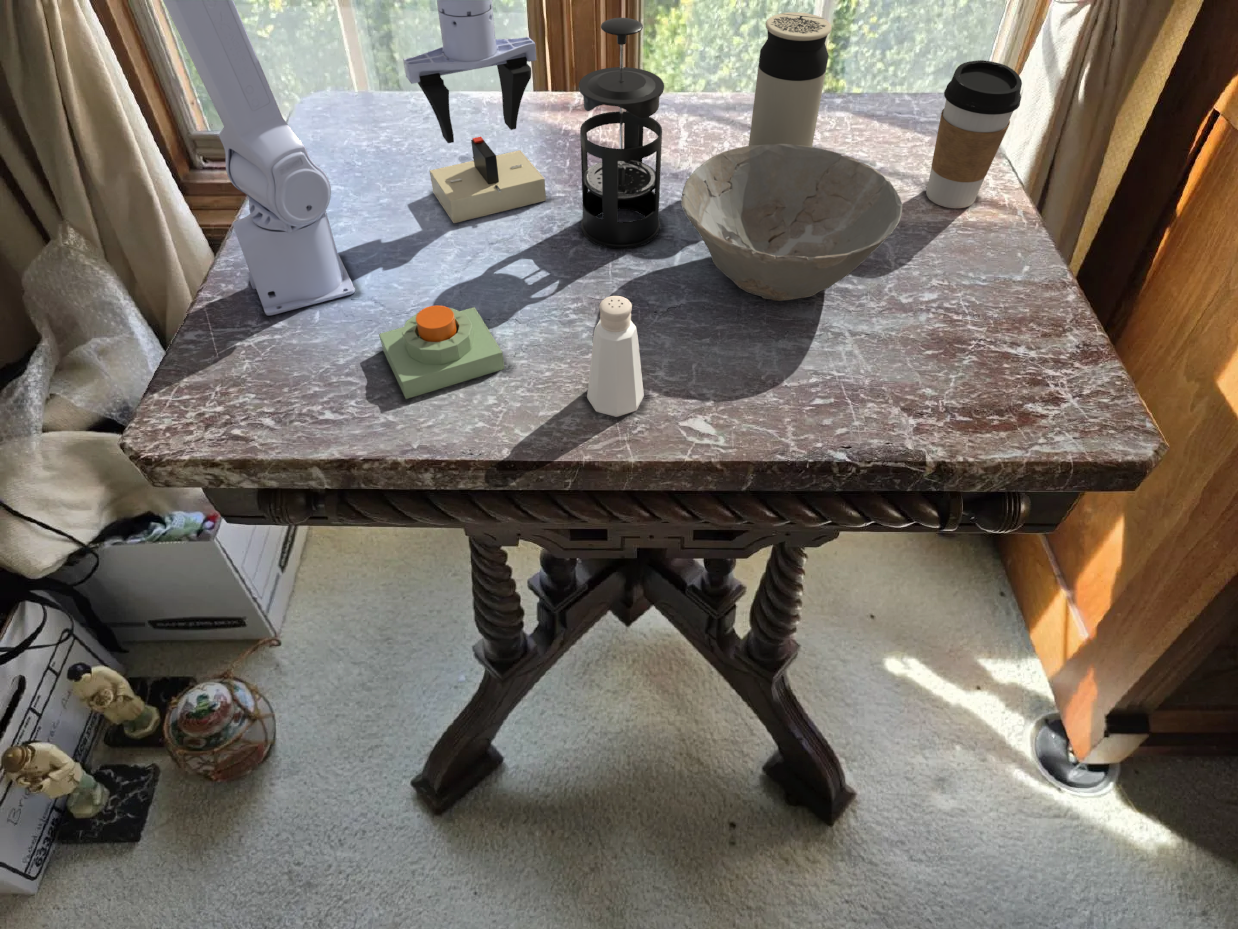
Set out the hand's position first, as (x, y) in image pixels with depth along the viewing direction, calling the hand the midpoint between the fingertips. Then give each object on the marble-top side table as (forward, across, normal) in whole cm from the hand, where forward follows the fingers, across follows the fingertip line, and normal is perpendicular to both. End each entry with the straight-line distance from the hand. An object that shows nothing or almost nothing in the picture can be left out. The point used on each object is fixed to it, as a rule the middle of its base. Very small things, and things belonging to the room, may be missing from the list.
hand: (479, 132), depth 99 cm
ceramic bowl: (+9, -23, +30) cm, 39 cm away
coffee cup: (+9, -52, +24) cm, 58 cm away
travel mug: (+9, -36, +10) cm, 39 cm away
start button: (+5, +15, +27) cm, 31 cm away
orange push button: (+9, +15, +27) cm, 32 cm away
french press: (+9, -12, +12) cm, 20 cm away
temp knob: (+6, 0, -1) cm, 6 cm away
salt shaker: (+9, +2, +39) cm, 40 cm away
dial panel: (+9, 0, -1) cm, 9 cm away
